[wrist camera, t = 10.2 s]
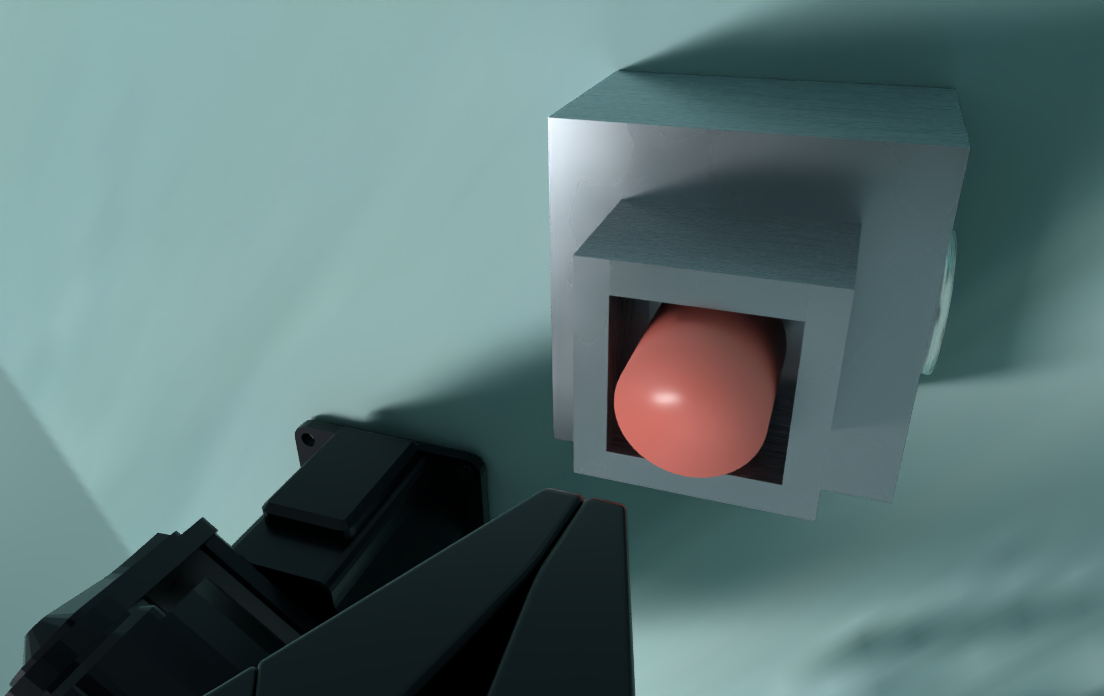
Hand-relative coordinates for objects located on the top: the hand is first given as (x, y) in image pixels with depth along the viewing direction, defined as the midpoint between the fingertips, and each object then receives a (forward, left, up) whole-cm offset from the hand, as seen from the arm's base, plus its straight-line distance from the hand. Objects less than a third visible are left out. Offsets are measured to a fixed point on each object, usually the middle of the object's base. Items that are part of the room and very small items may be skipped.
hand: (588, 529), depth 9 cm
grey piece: (-2, 0, -13) cm, 13 cm away
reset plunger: (-2, 0, -7) cm, 7 cm away
